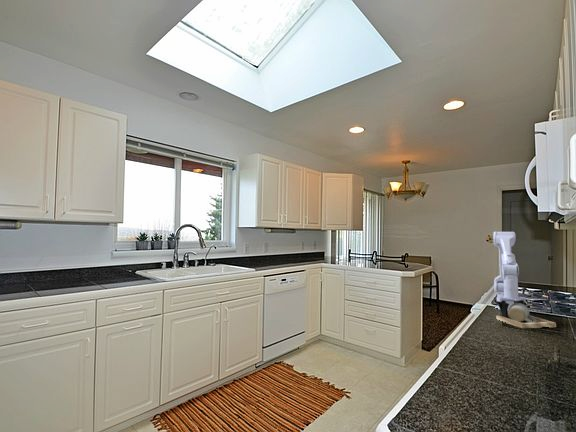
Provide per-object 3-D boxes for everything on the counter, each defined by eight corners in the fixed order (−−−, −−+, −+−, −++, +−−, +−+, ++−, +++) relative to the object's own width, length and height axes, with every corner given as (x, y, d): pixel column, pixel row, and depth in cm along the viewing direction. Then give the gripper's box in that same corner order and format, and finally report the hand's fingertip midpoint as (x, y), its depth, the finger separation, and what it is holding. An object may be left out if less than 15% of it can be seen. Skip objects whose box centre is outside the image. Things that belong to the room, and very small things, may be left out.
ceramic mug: (507, 320, 145) (507, 304, 145) (510, 316, 151) (510, 301, 151) (535, 326, 138) (535, 309, 137) (537, 321, 143) (537, 305, 143)
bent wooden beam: (527, 318, 150) (527, 314, 150) (556, 327, 136) (555, 322, 136) (496, 319, 147) (496, 315, 147) (522, 328, 133) (522, 323, 133)
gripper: (504, 290, 144) (505, 318, 143) (531, 289, 146) (532, 318, 146) (492, 287, 151) (493, 314, 150) (518, 287, 153) (518, 314, 153)
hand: (511, 316), depth 148 cm, fingers open, 7 cm apart
